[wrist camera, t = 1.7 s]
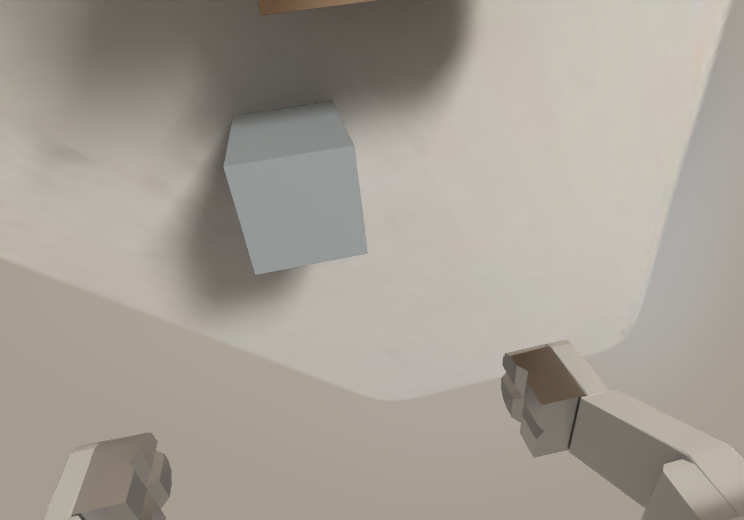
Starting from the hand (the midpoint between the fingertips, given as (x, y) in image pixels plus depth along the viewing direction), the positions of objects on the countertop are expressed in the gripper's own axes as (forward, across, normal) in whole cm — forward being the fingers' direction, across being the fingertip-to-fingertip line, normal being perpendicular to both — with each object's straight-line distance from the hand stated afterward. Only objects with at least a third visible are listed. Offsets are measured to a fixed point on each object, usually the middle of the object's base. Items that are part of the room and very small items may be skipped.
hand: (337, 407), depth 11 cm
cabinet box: (+17, 0, 0) cm, 17 cm away
